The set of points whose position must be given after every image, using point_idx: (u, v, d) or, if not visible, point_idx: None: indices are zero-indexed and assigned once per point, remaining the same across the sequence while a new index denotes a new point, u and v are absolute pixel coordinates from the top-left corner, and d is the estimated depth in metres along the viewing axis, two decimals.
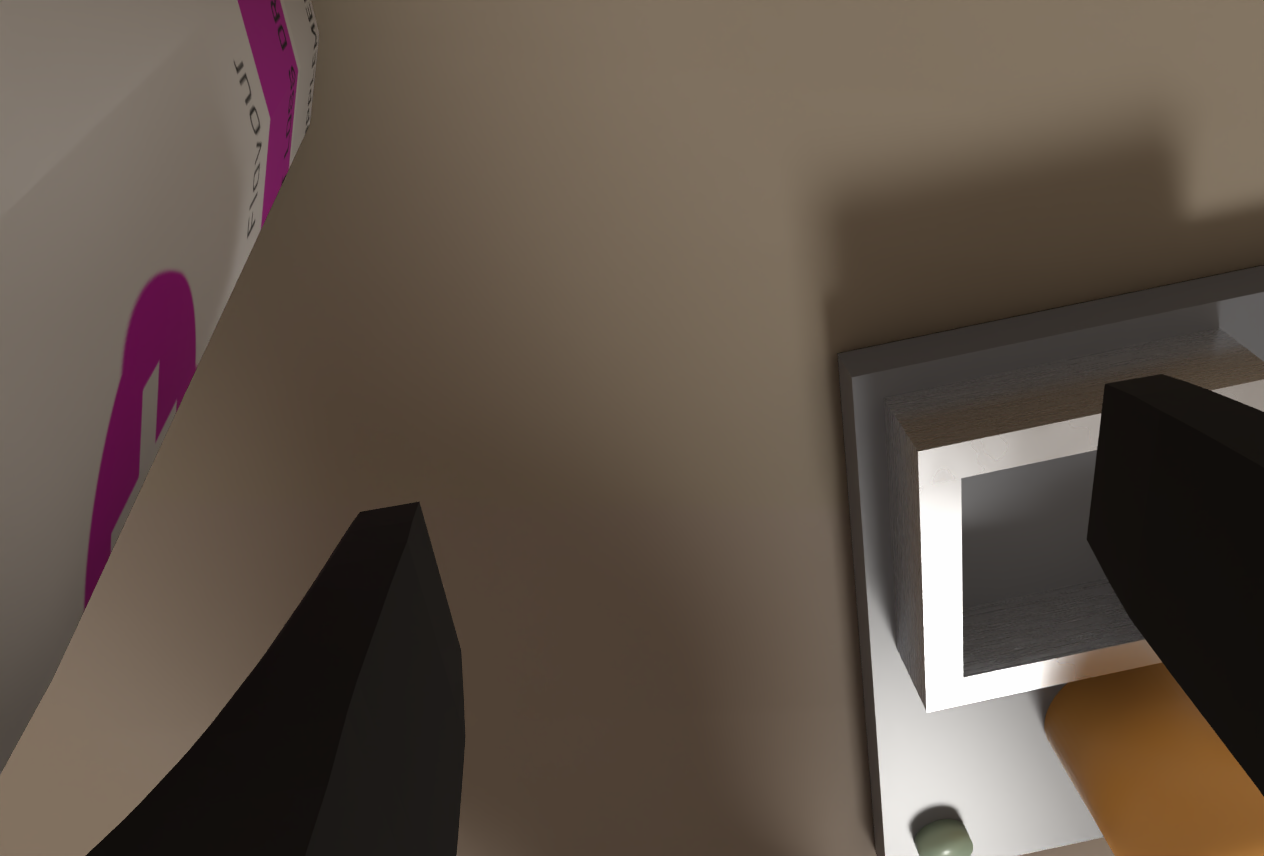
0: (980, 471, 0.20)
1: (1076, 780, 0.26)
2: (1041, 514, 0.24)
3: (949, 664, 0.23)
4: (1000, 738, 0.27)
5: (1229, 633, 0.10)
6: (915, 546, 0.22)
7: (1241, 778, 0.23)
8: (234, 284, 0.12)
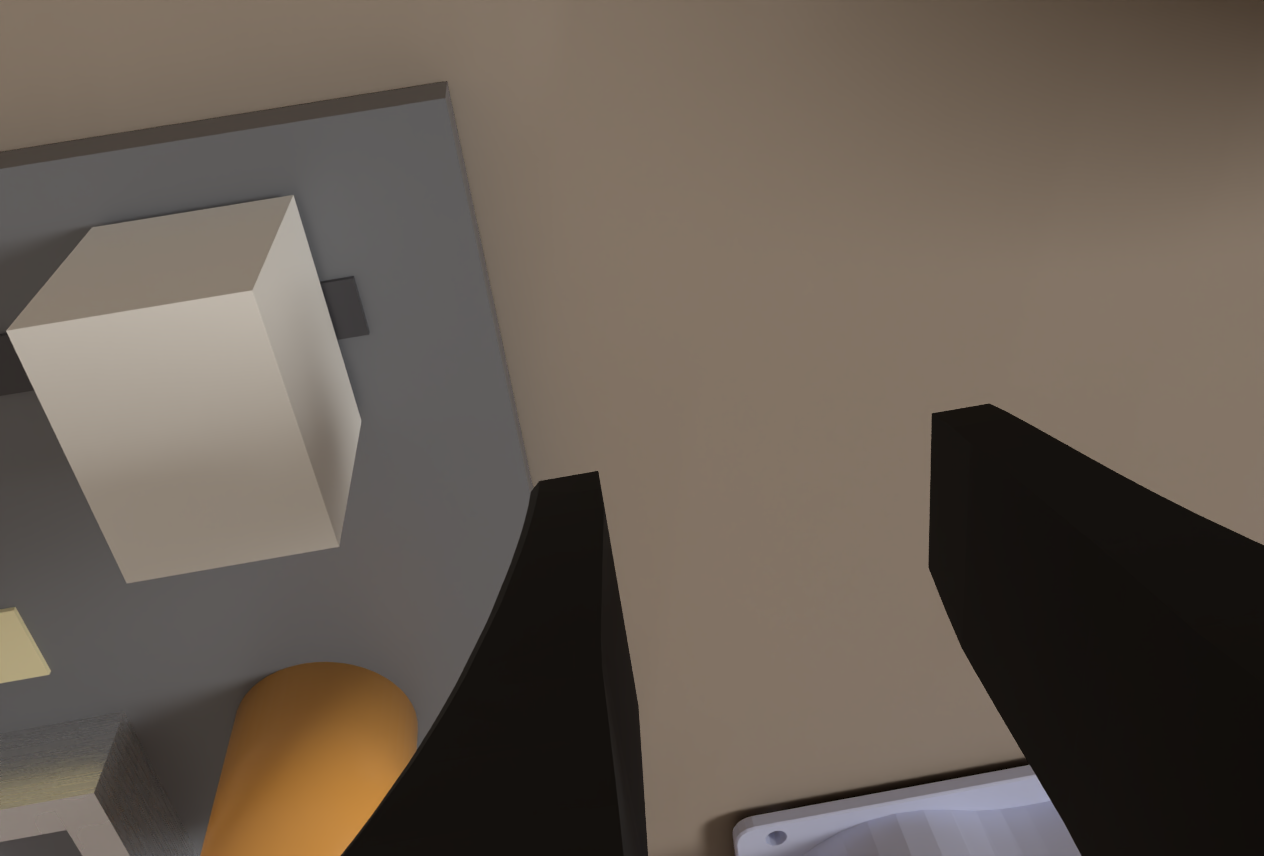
0: None
1: None
2: (40, 854, 0.23)
3: None
4: None
5: (1034, 669, 0.10)
6: None
7: None
8: None
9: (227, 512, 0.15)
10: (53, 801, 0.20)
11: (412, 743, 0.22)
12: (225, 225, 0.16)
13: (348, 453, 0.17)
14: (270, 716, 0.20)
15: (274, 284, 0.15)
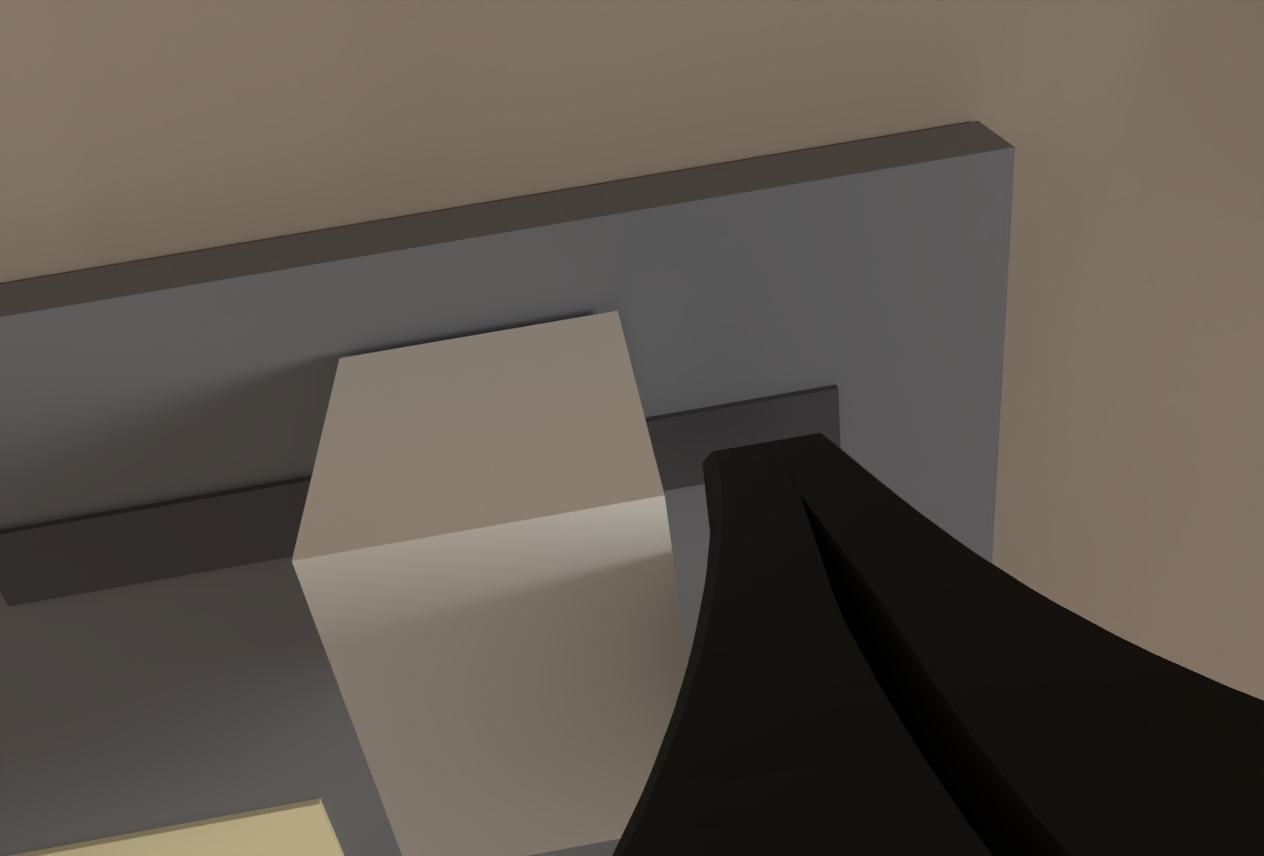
0: None
1: None
2: None
3: None
4: None
5: None
6: None
7: None
8: None
9: (566, 786, 0.10)
10: None
11: None
12: (544, 363, 0.11)
13: None
14: None
15: None
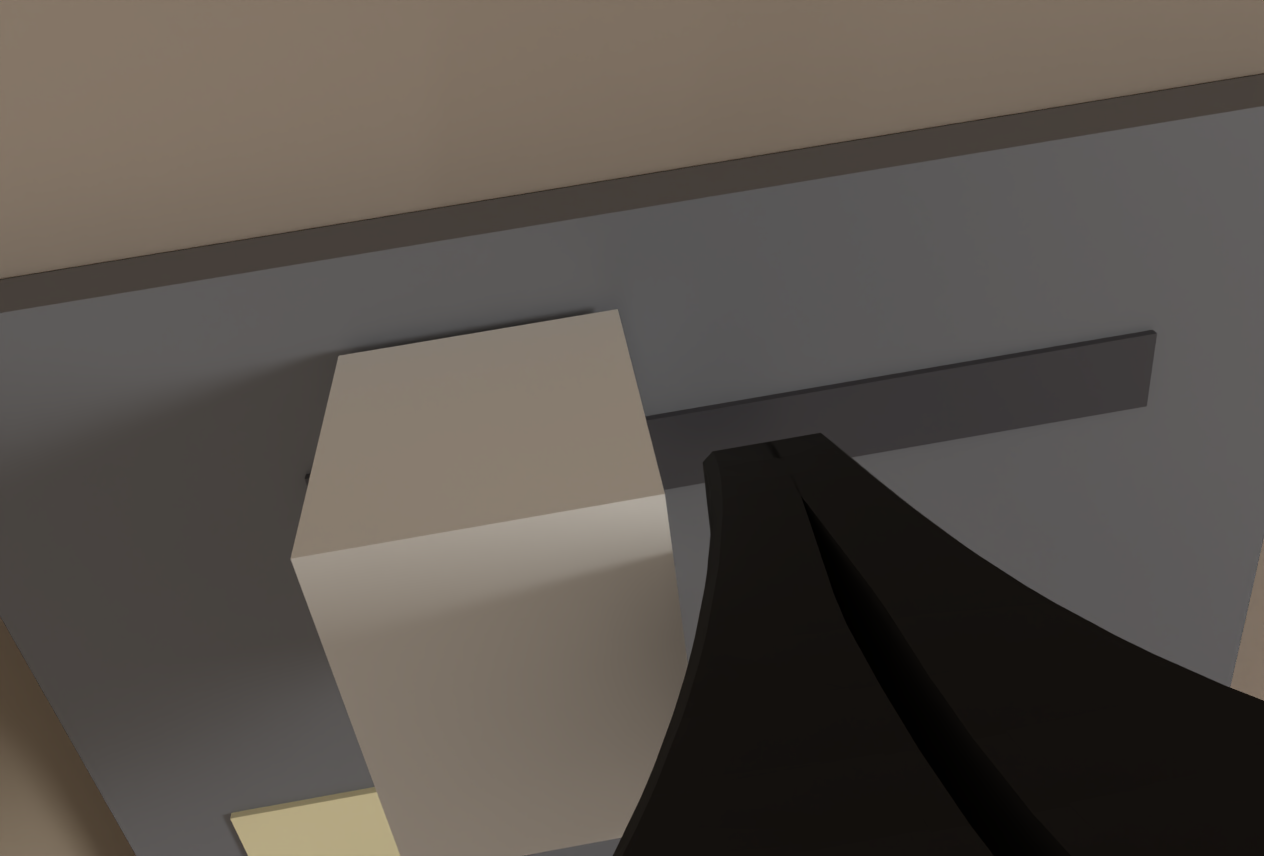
0: None
1: None
2: None
3: None
4: None
5: None
6: None
7: None
8: None
9: (566, 785, 0.10)
10: None
11: None
12: (544, 361, 0.11)
13: None
14: None
15: None
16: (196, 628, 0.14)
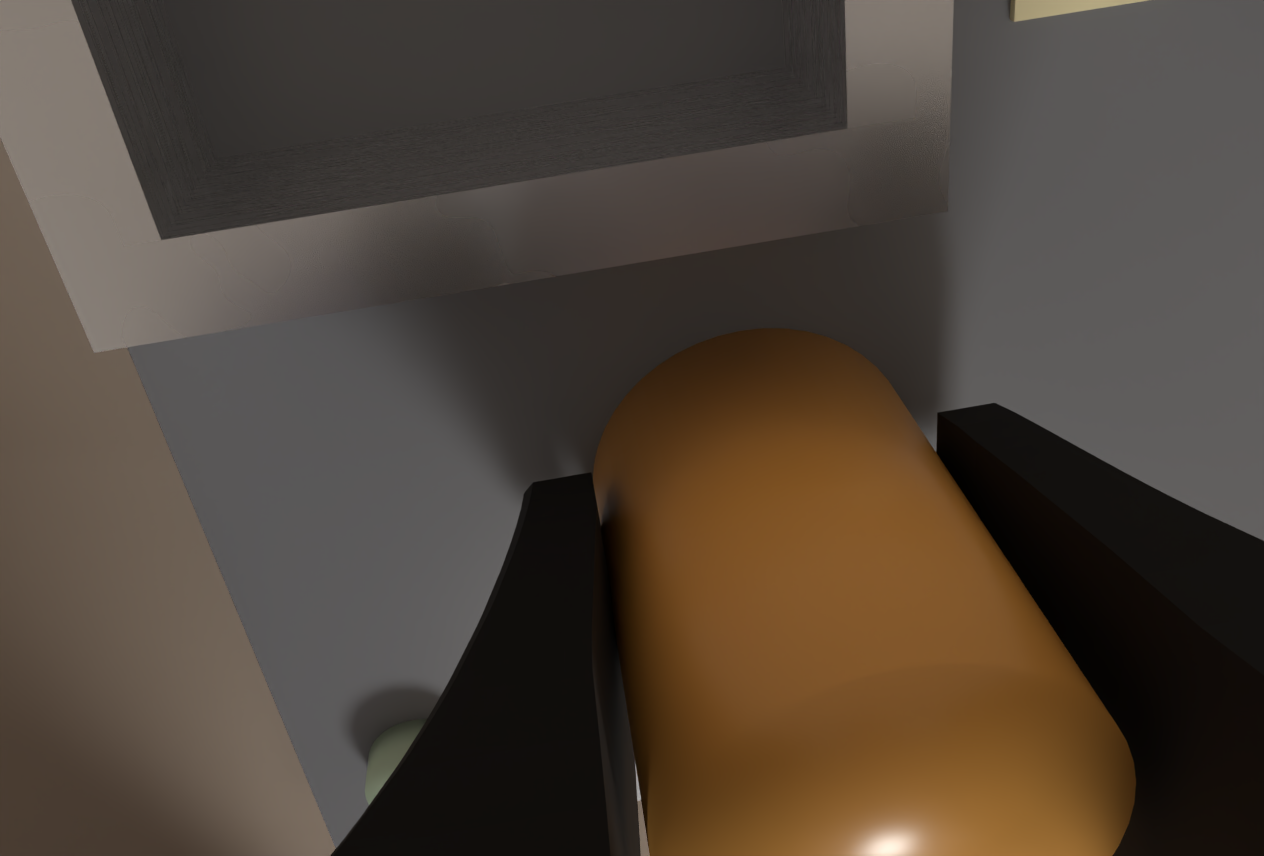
0: None
1: None
2: None
3: (98, 185, 0.08)
4: (499, 531, 0.12)
5: None
6: None
7: (940, 551, 0.08)
8: None
9: None
10: (939, 116, 0.08)
11: None
12: None
13: None
14: None
15: None
16: None
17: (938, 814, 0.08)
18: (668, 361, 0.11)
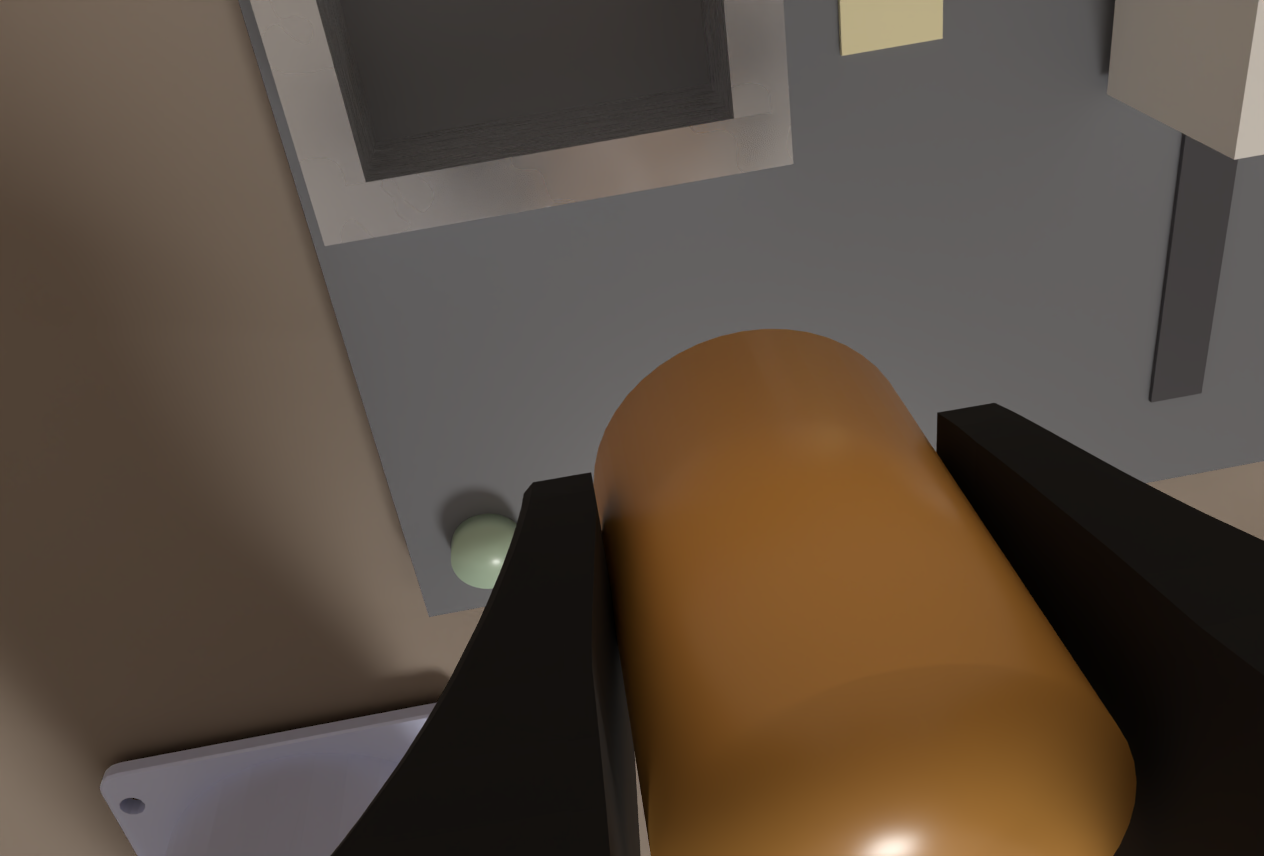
0: None
1: None
2: None
3: (335, 152, 0.15)
4: (539, 379, 0.19)
5: None
6: None
7: (940, 552, 0.08)
8: None
9: None
10: (784, 111, 0.15)
11: None
12: None
13: None
14: None
15: None
16: None
17: (938, 814, 0.08)
18: (669, 361, 0.11)
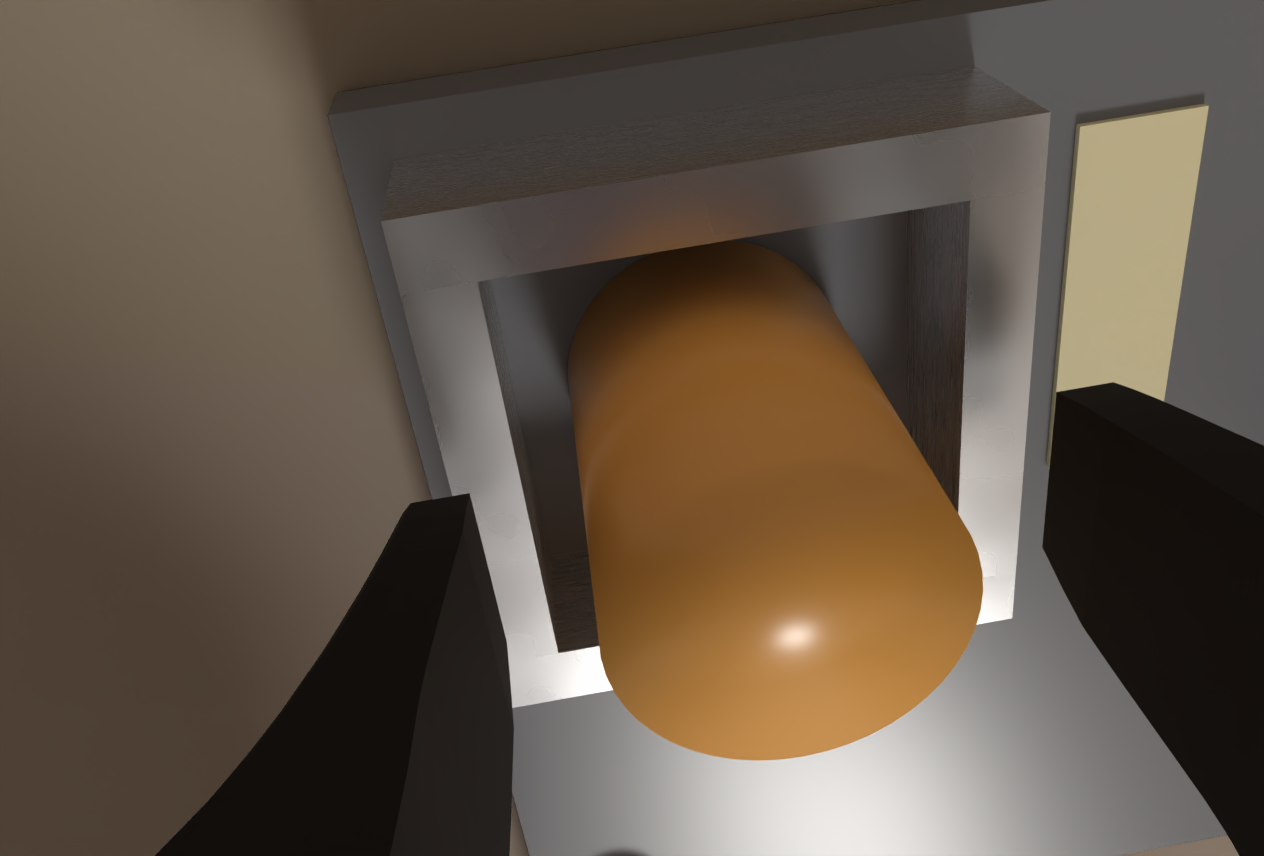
0: (515, 273, 0.11)
1: None
2: None
3: (528, 629, 0.14)
4: (696, 755, 0.18)
5: (1175, 643, 0.10)
6: None
7: (829, 393, 0.10)
8: None
9: None
10: (1008, 573, 0.14)
11: None
12: None
13: None
14: None
15: None
16: None
17: (823, 595, 0.10)
18: (628, 267, 0.14)
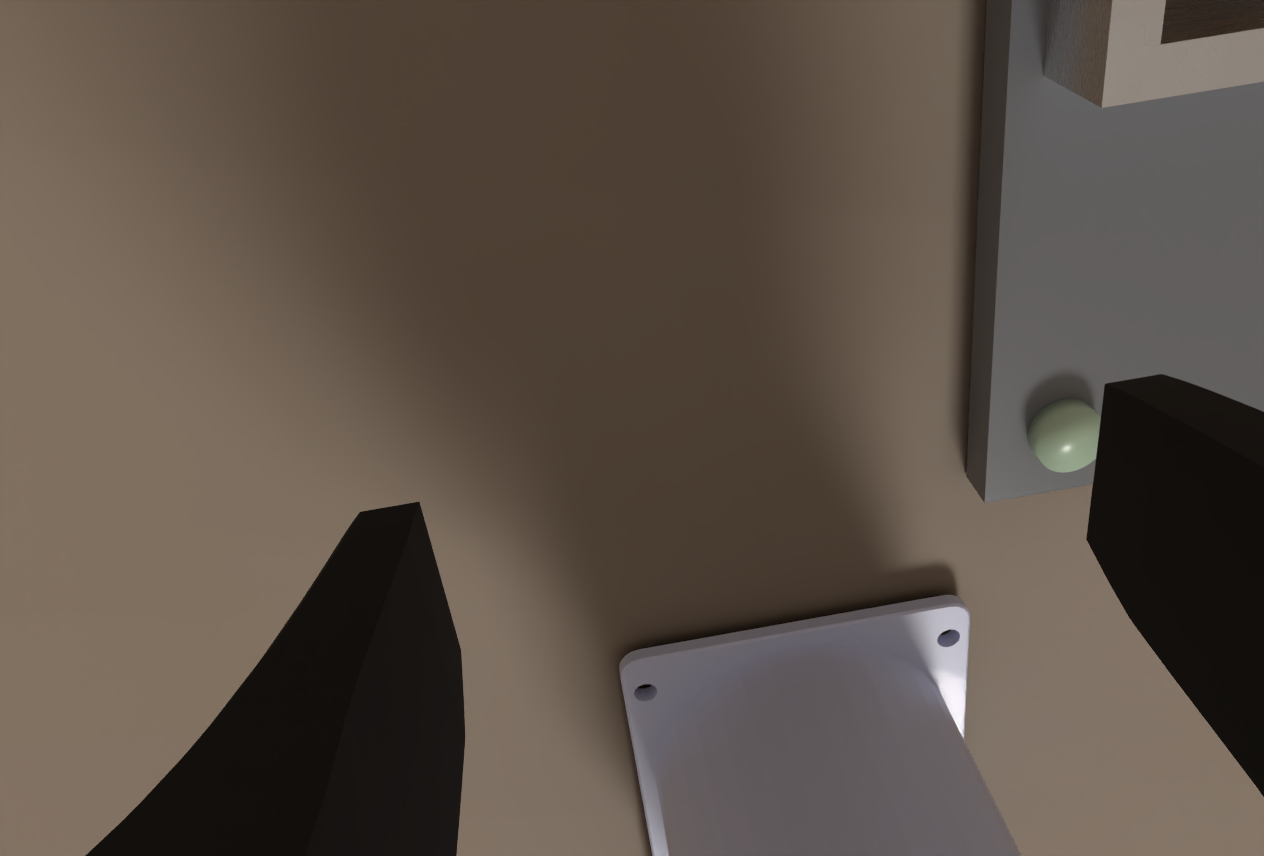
0: None
1: None
2: None
3: (1144, 13, 0.16)
4: (1160, 262, 0.20)
5: (1228, 633, 0.10)
6: None
7: None
8: None
9: None
10: None
11: None
12: None
13: None
14: None
15: None
16: None
17: None
18: None
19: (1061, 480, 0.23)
